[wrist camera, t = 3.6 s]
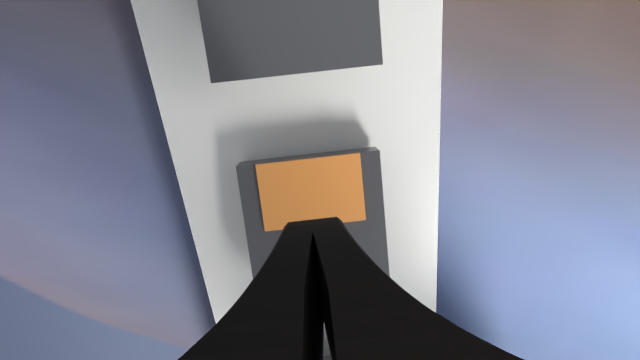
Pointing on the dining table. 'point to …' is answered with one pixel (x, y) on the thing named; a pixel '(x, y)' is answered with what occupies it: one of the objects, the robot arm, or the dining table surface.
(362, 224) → the outlet rocker
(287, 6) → the outlet rocker
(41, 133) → the dining table surface
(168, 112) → the power strip
